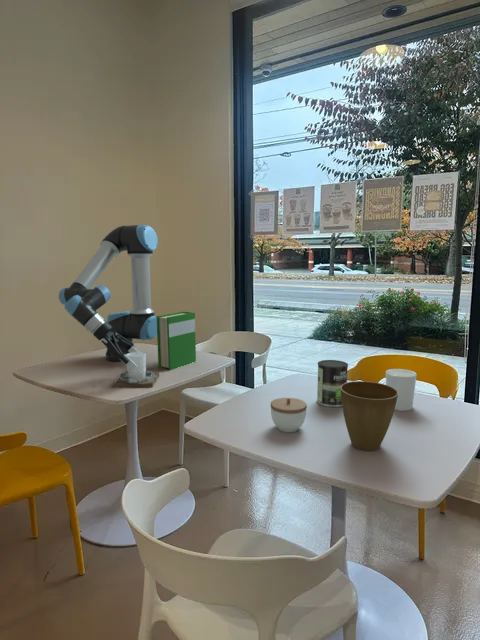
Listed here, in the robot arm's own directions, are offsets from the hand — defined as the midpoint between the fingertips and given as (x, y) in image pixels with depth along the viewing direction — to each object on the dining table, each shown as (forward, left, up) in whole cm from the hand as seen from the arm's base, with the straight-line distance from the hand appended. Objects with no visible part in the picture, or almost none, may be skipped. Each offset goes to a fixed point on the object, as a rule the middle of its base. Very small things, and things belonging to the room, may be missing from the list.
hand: (138, 363), depth 175 cm
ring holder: (0, -1, -8) cm, 8 cm away
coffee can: (+26, +73, -8) cm, 78 cm away
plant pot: (+60, +75, -8) cm, 96 cm away
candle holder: (+31, +95, -8) cm, 100 cm away
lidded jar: (+48, +55, -8) cm, 74 cm away
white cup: (0, -1, -6) cm, 6 cm away
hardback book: (-26, +12, -8) cm, 30 cm away
